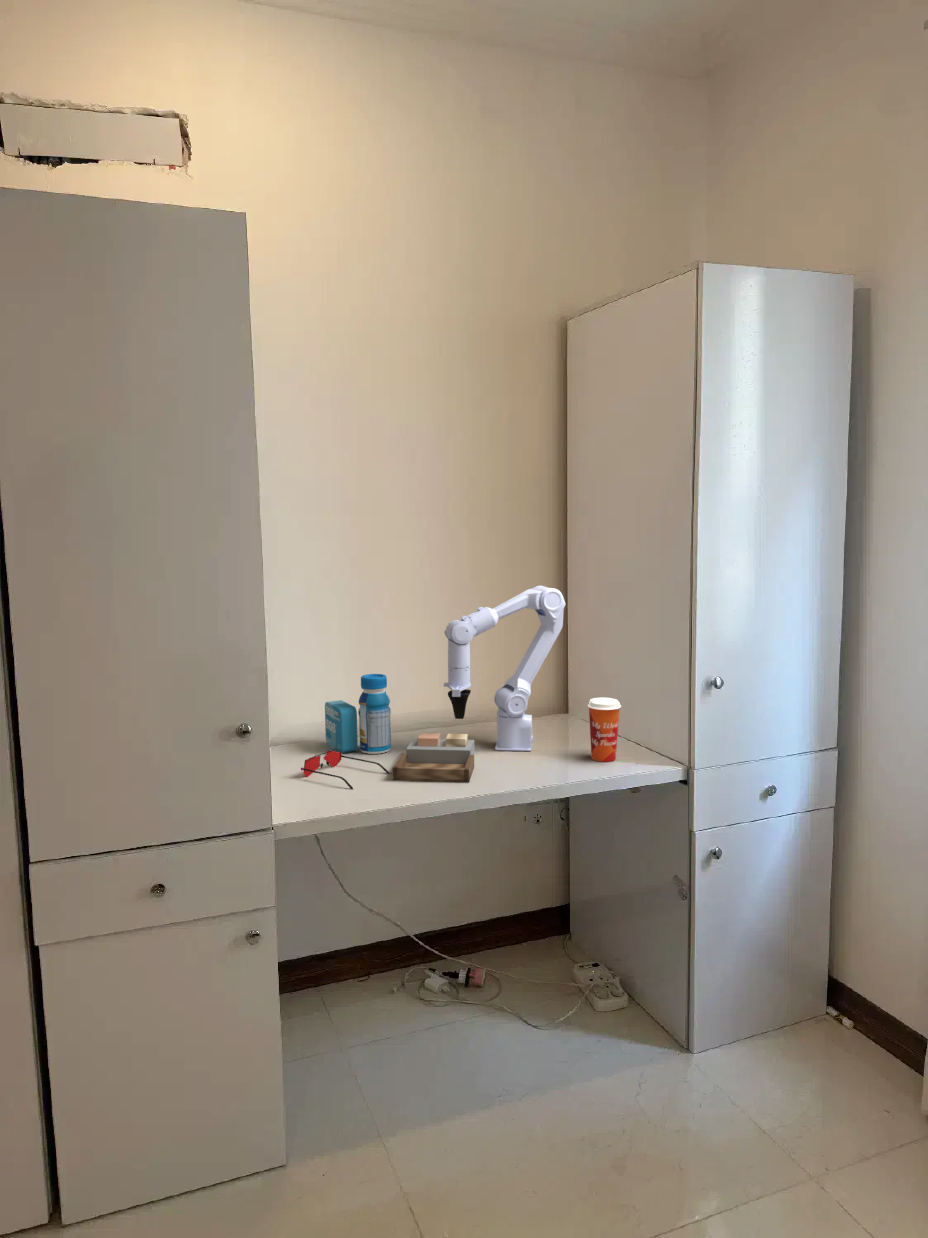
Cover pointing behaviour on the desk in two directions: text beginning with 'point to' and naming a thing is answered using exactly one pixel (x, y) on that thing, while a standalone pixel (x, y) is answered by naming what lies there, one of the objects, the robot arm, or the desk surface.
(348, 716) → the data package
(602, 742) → the coffee cup
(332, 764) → the glasses
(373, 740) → the beverage bottle
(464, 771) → the walnut box
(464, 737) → the ash tile
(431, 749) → the slate slab
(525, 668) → the robot arm
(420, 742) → the terracotta tile
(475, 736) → the desk surface
